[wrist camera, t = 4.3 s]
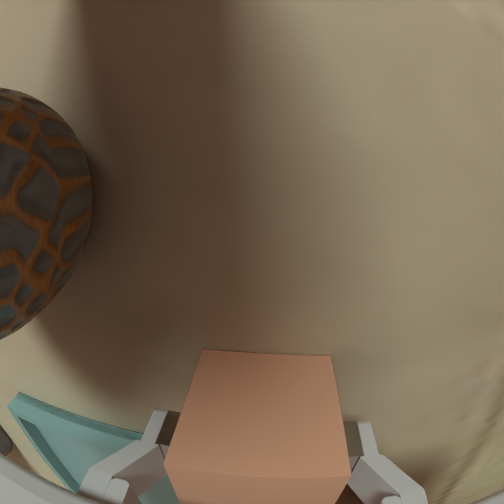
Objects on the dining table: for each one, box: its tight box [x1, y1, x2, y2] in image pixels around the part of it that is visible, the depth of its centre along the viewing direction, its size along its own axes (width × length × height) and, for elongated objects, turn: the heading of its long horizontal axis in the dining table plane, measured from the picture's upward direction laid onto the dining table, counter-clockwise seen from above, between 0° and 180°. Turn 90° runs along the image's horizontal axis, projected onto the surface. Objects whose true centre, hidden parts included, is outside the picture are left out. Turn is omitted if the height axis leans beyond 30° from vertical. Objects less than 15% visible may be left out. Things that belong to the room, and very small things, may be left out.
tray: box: [7, 392, 180, 504], centre depth 15 cm, size 13×13×2 cm
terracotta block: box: [164, 349, 351, 504], centre depth 9 cm, size 4×4×5 cm
